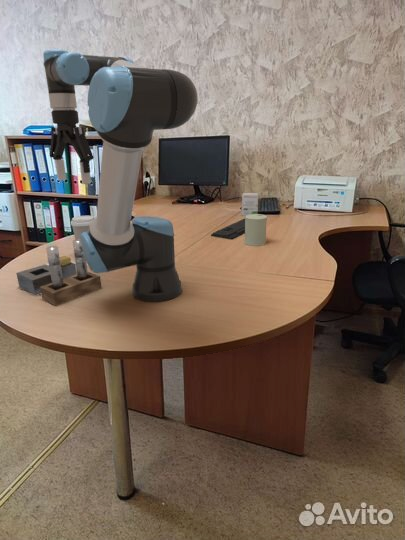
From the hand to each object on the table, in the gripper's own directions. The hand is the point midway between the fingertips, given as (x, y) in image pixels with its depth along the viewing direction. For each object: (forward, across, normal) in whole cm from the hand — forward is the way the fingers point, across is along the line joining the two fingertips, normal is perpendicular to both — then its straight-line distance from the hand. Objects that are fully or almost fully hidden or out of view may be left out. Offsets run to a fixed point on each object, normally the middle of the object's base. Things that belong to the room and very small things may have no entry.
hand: (74, 182), depth 123 cm
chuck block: (+32, +3, +12) cm, 34 cm away
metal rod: (+32, -10, +16) cm, 37 cm away
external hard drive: (+32, +15, +3) cm, 36 cm away
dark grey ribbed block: (+32, -9, -81) cm, 88 cm away
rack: (+32, -10, +12) cm, 35 cm away
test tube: (+32, -10, +8) cm, 34 cm away
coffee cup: (+32, +18, -13) cm, 39 cm away
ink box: (+32, +3, -108) cm, 113 cm away
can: (+32, -27, -66) cm, 78 cm away
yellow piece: (+30, +3, +6) cm, 31 cm away
